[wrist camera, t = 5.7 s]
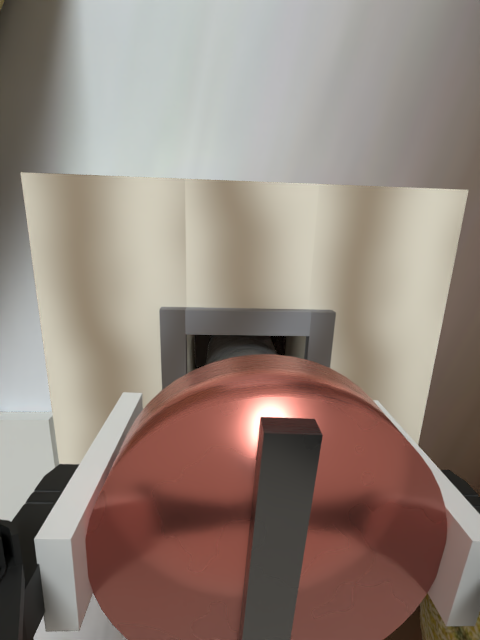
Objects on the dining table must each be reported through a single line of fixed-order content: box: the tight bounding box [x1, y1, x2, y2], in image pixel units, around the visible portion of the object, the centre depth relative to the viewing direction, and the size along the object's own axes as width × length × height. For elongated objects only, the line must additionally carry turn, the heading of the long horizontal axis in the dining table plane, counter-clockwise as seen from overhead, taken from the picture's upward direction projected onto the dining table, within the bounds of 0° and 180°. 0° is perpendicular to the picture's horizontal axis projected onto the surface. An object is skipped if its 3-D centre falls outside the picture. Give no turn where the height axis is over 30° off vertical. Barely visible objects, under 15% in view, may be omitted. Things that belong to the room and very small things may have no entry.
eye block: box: [20, 172, 468, 464], centre depth 20 cm, size 20×20×6 cm
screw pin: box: [85, 335, 447, 640], centre depth 15 cm, size 9×9×15 cm
